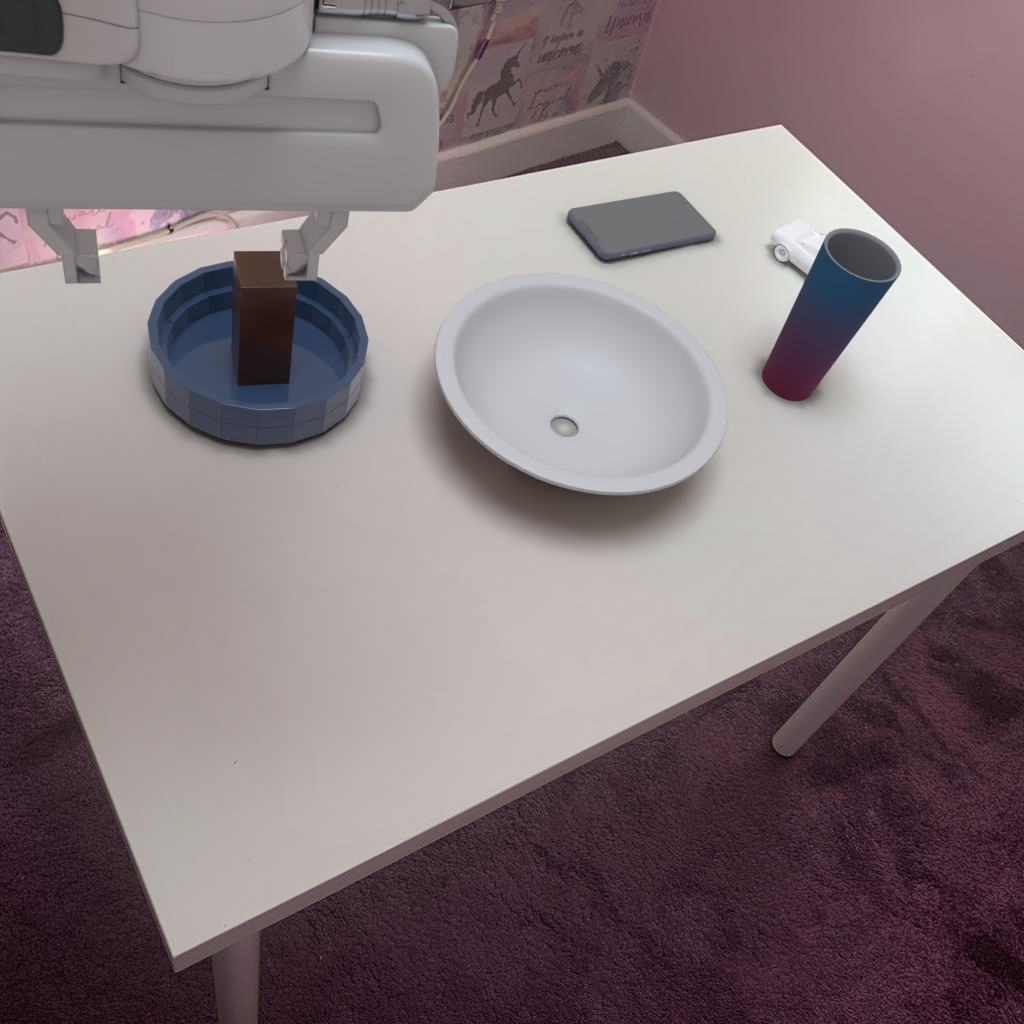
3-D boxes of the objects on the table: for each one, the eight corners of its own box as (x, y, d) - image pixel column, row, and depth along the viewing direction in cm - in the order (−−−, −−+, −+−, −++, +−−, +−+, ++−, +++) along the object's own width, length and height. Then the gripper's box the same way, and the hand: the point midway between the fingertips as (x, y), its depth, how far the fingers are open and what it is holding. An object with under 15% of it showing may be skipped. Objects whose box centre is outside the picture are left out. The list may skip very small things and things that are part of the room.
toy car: (845, 316, 107) (861, 291, 105) (759, 246, 112) (772, 220, 109) (875, 299, 110) (891, 274, 108) (790, 232, 114) (803, 206, 112)
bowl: (160, 457, 78) (158, 415, 74) (142, 304, 87) (139, 261, 83) (379, 442, 83) (386, 403, 80) (341, 300, 92) (346, 259, 89)
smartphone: (720, 233, 110) (605, 256, 103) (716, 240, 110) (602, 264, 103) (678, 189, 113) (564, 208, 106) (675, 196, 114) (562, 216, 107)
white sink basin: (396, 330, 91) (407, 270, 86) (647, 327, 99) (671, 272, 94) (456, 556, 78) (474, 501, 73) (741, 533, 86) (774, 482, 81)
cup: (739, 374, 98) (809, 245, 87) (777, 345, 102) (849, 218, 90) (797, 419, 96) (877, 292, 85) (834, 387, 100) (915, 263, 88)
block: (237, 386, 83) (240, 287, 75) (231, 349, 85) (233, 250, 77) (289, 383, 84) (297, 286, 76) (281, 348, 86) (288, 250, 79)
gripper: (448, -47, 43) (401, 229, 53) (-128, -102, 36) (-51, 228, 47) (488, 38, 39) (429, 315, 50) (-140, -4, 33) (-55, 327, 43)
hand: (193, 273), depth 48 cm, fingers open, 8 cm apart
